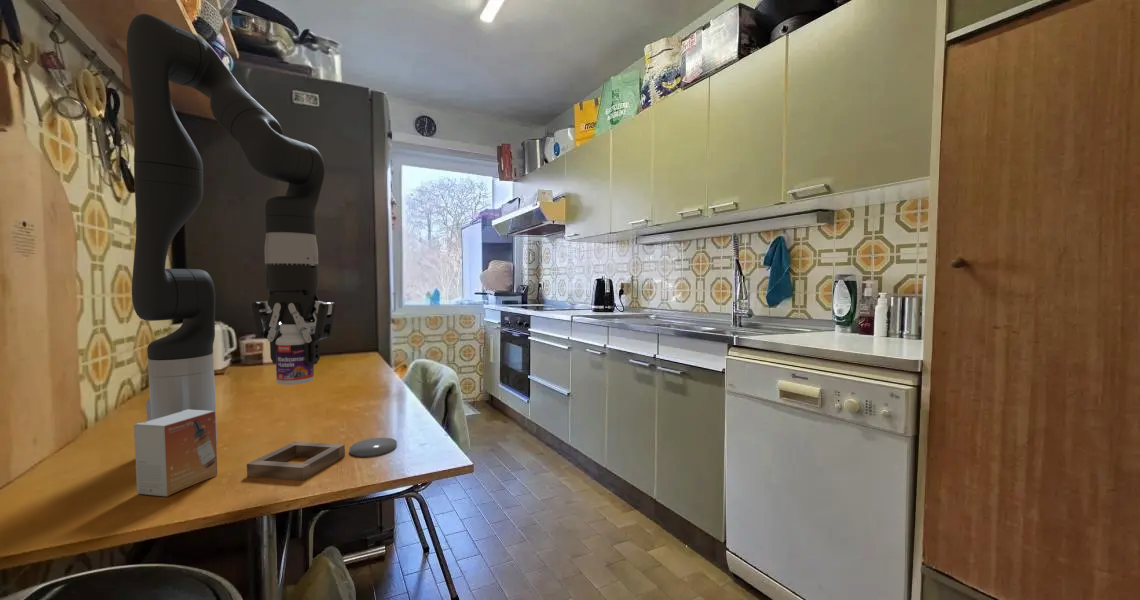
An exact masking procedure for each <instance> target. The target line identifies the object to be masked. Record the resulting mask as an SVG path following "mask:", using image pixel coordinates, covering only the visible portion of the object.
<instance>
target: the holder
mask: <svg viewBox="0 0 1140 600" xmlns="http://www.w3.org/2000/svg"><path fill="white" fill-rule="evenodd" d="M345 447H346V446H345V444H344V443H343V444H342V443H341V444H340V443H339V444H338V443H323V442H309V441H307V442H306V441H293V442H291V443H288V444H286V445H284V446H282V447H280V448H278V449H276V450H274V451H271V452H269V453H266V454H265V455H263V456H260V457H258V458H256V459H254V460H252V461H250V462H248V463H246V474H247V475H246V476H247V477H252V478H267V479H277V480H278V479H279V480H293V481H294V480H295V481H304V480H306V479H308V478H310V477H311V476H313V475H314V474H316V473H318V472H321V470H323V469H325V468H326V467H329V466H330V465H331V464H334V463H335V462H336V461H338V459H339V460H340V459H341V458H343V457H345V456H346V452H345ZM295 457H304V458H305V457H306V458H309V459H307V460H305V461H303V462H289V461H290V460H291V459H293V458H295Z"/></svg>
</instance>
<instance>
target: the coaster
mask: <svg viewBox="0 0 1140 600" xmlns="http://www.w3.org/2000/svg"><path fill="white" fill-rule="evenodd" d="M397 446H398V442H397V440H396V439H394V438H391V437H374V438H373V437H372V438H367V439H362V440H360V441H357V442H355V443H353V444H351V446H349V454H350V455H351V456H353V457H354V456H355V457H360V458H365V457H375V456H376V455H377V456H381V455H385V454H388V453H391V452H392V451H393V449H394V450H395V449H396V448H397ZM387 452H388V453H387ZM384 453H385V454H384Z"/></svg>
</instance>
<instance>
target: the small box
mask: <svg viewBox="0 0 1140 600" xmlns="http://www.w3.org/2000/svg"><path fill="white" fill-rule="evenodd" d="M216 425H217V421H216V422H215V411H206V410H190V409H187V410H184V411H182V412H178V413H175V414H171V415H168V416H164V417H161V418H157V419H154V420H150V421H147V420H146V421H143V422H138V423H134V424H133V434H134V437H133V438H134V453H135V454H134V455H135V476H136V478H135V479H136V480H135V481H136V493H137V494H138V495H146V496H157V497H169V496H171V495H174V494H175V493H177V492H180V491H182V490H185V489H186V488H189V487H191V486H194V485H196V484H199V483H201V482H203V481H206V480H208V479H211V478H214V477H216V476H217V475H218V454H217V453H218V452H217V451H218V450H217V443H216Z"/></svg>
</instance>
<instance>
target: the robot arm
mask: <svg viewBox="0 0 1140 600" xmlns="http://www.w3.org/2000/svg"><path fill="white" fill-rule="evenodd" d="M126 58H127V66H128V72H129V73H128V74H129V81H130V82H129V83H130V90H131V98H132V107H133V124H134V125H133V126H134V129H133V131H134V135H133V136H134V141H133V142H134V147H133V148H134V151H133V152H134V153H133V176H134V177H133V184H134V197H135V198H134V203H135V243H134V255H133V267H132V278H131V280H132V281H131V300H132V306H133V309H134V311H135V314H136V316H137V317H138V318H140V319H141V320H143V321H147V322H153V321H156V322H157V321H170V320H182V323H181V325H180V327H178V328H177V329H176V330H174V331H173V332H172V333H169V334H167V335H166V336H163V337H160V338H158V339H155V340H153V341H151V342H150V343H148V345H147V366H148V367H147V368H148V369H147V370H148V385H149V386H148V387H149V388H148V389H149V398H148V399H147V400H146V402H145V406H146V409H145V410H146V421H150V420H154V419H157V418H161V417H164V416H168V415H171V414H175V413H178V412H182V411H184V410H187V409H190V410H206V411H215V422H216V423H217V406H216V405H217V404H216V386H215V385H216V384H215V383H216V382H215V365H214V342H215V337H216V323H215V322H216V289H215V288H216V287H215V284H214V280H213V278H212V277H211V275H210V274H209V272H207V271H206V270H203V269H200V268H199V269H197V268H195V269H194V268H166V263H167V262H166V261H167V258H168V257H167V256H168V252H169V249H170V246H171V244H172V242H173V240H174V238H175V236H176V235H177V233H178V232H179V231H180V230H181V228H182V227H183V226H184V225H185V223H187V221H188V220H189V219H190V217H192V216H193V214H194V213H195V212H196V210H197V209H198V208H199V206H200V204H201V203H202V200H203V196H204V165H203V159H202V157H201V154H200V153H199V150H198V149H197V147H196V145H195V144H194V141H193V140H192V139H191V137H190V135H189V134H188V132H187V130H186V129H185V127H184V126H183V124H182V122H181V121H180V119H179V116H178V115H177V113H176V111H175V109H174V105H173V101H172V98H171V89H170V82H172V83H175V84H177V85H180V86H184V87H189V88H192V89H194V90H197V91H198V92H199V93H201V94H203V95H205V96H206V97H208V98H209V99H210V100H209V101H210V102H209V104H210V110H211V113H212V116H213V118H214V119H215V120H216V122H217V123H218V124H219V126H220V127H222V128H223V130H224V131H225V132H226V133H227V134H228V135H229V136H231V137H232V138H233V140H235V141H236V142H237V143H238V144H239V146H240V148H241V150H242V152H243V154H244V155H245V156H244V157H245V158H246V160H247V162H248V163H249V165H250V166H251V167H252V169H254V170H255V172H257V173H259V174H260V175H262V176H263V177H265V178H267V179H270V180H275V181H279V182H284V183H288V187H287V190H286V193H285V195H278V196H272V197H270V198H268V199H267V200H266V202H265V205H264V206H265V209H264V211H265V214H264V216H265V217H264V218H265V221H264V222H265V241H264V268H265V270H264V272H265V275H264V276H265V289H266V290H267V291H268V292H269V296H268V298H267V300H265V301H254V302H252V303H251V309H252V313H253V318H254V324H255V328H256V332H257V336H258V337H259V338H260V339H261V338H264V339H266V340H268V342H269V353H270V360H271V362H272V364H273V365H276V340H277V338H279V337H281V336H282V333H280V324H287V323H293V324H296V325H297V328H298V329H299V330H300V331H301V332H302V334H303V337H304V339H305V341H306V342H307V343H304V358H305V365H317V364H318V361H320V358H321V355H320V353H321V352H320V351H321V348H320V347H321V346H320V343H321V341H322V340H324V339H326V338H330V337H331V336H332V332H333V325H334V318H335V311H336V304H335V302H330V301H329V302H325V301H321V300H320V298H319V297H318V294H317V292H318V290H319V289H320V278H319V276H320V275H319V249H318V242H317V236H316V234H317V233H316V228H317V227H316V209H317V205H318V201H319V198H320V194H321V191H322V187H323V184H324V180H325V175H326V173H325V172H326V167H325V165H326V164H325V162H324V159H323V156H322V154H321V153H320V151H319V150H318V149H317V148H316V147H315V146H313V145H311V144H309V143H306V142H303V141H300V140H297V139H294V138H291V137H288V136H286V135H284V131H283V128H282V126H281V124H280V123H279V121H278V120H277V119H276V118H275V117H274V116H273V115H272V114H271V113H270V112H269V111H268V110H267V109H266V108H264V107H263V106H262V104H260V103H259V102H258V101H257V100H256V99H255V98H253V97H252V95H251V94H250V93H248V92H247V91H246V90H245V88H244V87H243V86H242V85H241V84H240V83H239V82H238V80H237V79H236V77H235V76H234V75H233V73H232V72H231V71H230V69H229V68H228V67H227V66H226V64H225V62H224V61H223V60H222V59H221V57H220V56H219V54H218V53H217V52H216V50H214V48H213V47H212V46H211V45H210V44H209V42H207V41H206V40H205V39H204V38H202V37H200V36H199V35H198V34H196V33H193V32H191V31H188V30H186V29H184V28H181V27H180V26H177V25H175V24H173V23H170V22H169V21H166V20H164V19H162V18H159V17H157V16H155V15H151V14H147V13H141V14H137V15H136V16H135V17H133V18H132V20H131V21H130V23H129V26H128V30H127V34H126ZM316 314H317V315H316ZM217 427H218V425H217V424H216V444H217V443H218V430H217V429H218V428H217Z"/></svg>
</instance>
